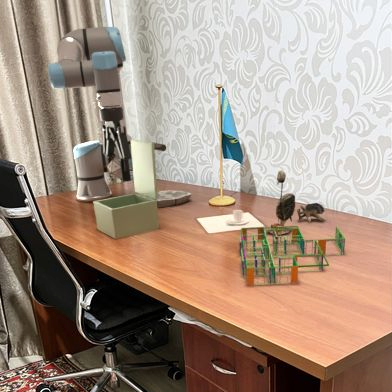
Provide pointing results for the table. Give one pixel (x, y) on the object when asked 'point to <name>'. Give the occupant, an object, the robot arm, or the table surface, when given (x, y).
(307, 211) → the brown animal figurine
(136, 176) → the lid
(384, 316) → the table surface
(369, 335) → the table surface
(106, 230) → the chest
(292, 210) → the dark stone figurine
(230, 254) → the table surface
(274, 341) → the table surface
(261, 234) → the wall framing model
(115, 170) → the game die
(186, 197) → the brain slice
